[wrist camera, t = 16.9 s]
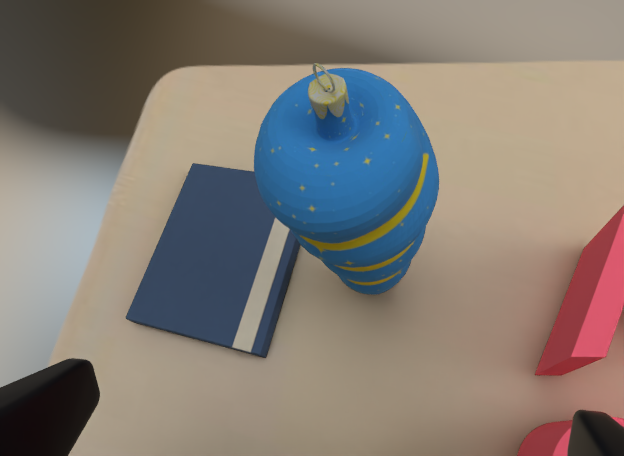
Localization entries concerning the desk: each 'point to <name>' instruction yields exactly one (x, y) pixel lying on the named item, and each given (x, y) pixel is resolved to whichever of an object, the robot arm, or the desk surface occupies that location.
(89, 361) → the robot arm
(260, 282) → the blue notebook
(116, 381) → the desk surface
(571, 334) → the letters
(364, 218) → the ornament
